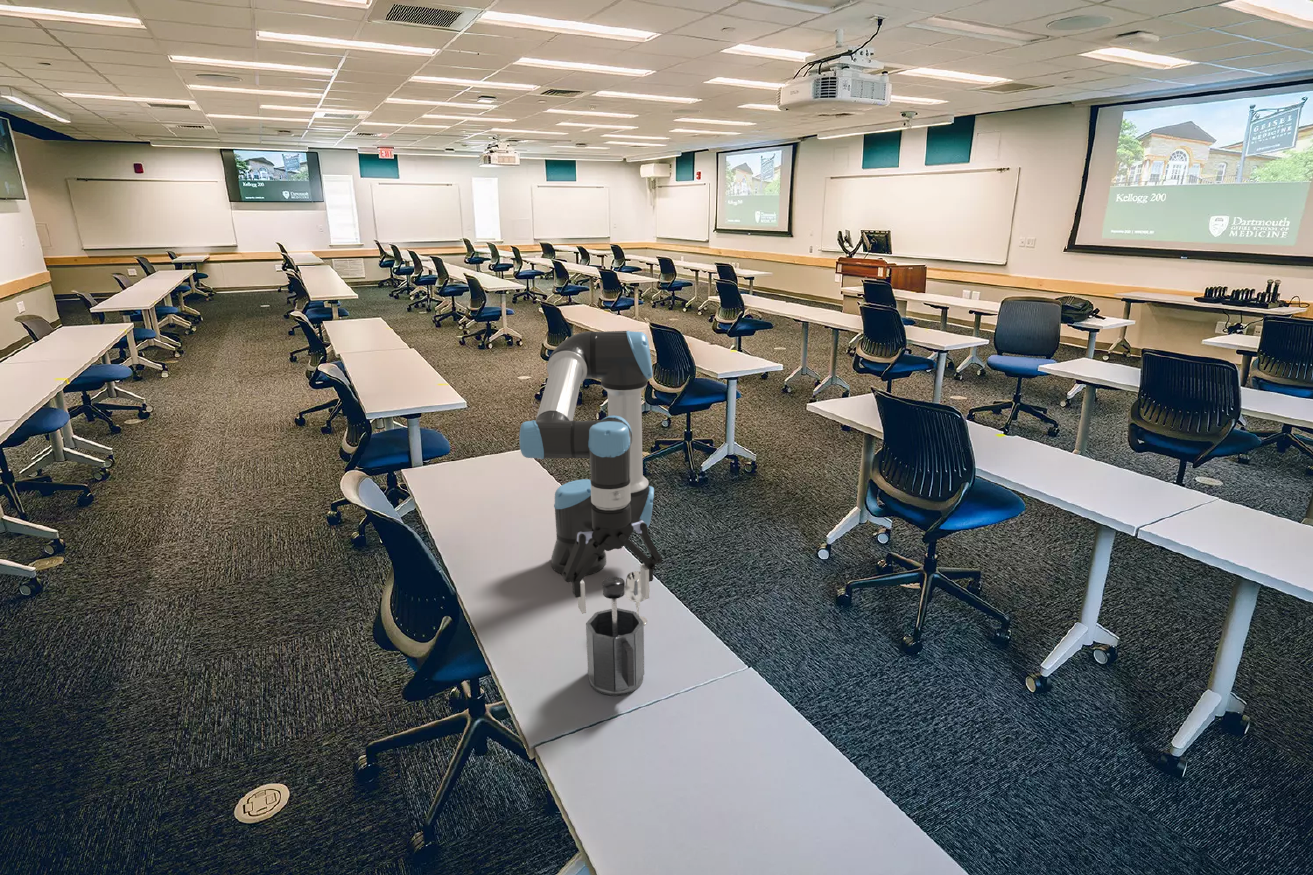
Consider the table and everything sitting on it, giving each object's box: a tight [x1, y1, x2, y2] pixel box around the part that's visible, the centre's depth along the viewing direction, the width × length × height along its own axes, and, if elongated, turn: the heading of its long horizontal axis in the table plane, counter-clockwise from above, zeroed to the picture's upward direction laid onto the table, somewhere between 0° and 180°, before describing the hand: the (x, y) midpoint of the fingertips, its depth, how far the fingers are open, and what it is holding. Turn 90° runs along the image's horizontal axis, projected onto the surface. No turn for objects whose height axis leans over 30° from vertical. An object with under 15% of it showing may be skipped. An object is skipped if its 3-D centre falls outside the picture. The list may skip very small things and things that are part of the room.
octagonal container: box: [585, 607, 645, 697], centre depth 139 cm, size 14×11×13 cm
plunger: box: [601, 576, 626, 637], centre depth 139 cm, size 7×7×21 cm
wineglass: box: [625, 570, 651, 626], centre depth 161 cm, size 6×6×12 cm
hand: (614, 602), depth 137 cm, fingers open, 13 cm apart
